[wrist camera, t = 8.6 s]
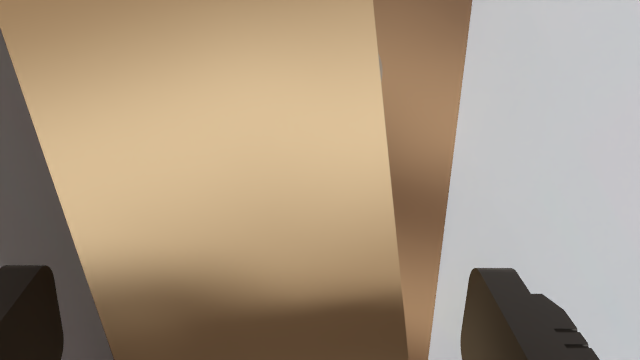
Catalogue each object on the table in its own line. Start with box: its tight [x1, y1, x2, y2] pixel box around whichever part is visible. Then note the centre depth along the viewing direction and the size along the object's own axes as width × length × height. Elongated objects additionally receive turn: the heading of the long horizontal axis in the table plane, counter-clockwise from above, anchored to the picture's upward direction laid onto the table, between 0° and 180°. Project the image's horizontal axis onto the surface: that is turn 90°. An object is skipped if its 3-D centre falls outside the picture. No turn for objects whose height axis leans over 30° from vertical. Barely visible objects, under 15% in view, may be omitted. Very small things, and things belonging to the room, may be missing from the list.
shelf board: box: [0, 0, 409, 360], centre depth 12 cm, size 14×5×4 cm, turn 8°
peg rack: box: [373, 0, 472, 360], centre depth 13 cm, size 20×10×10 cm, turn 178°
